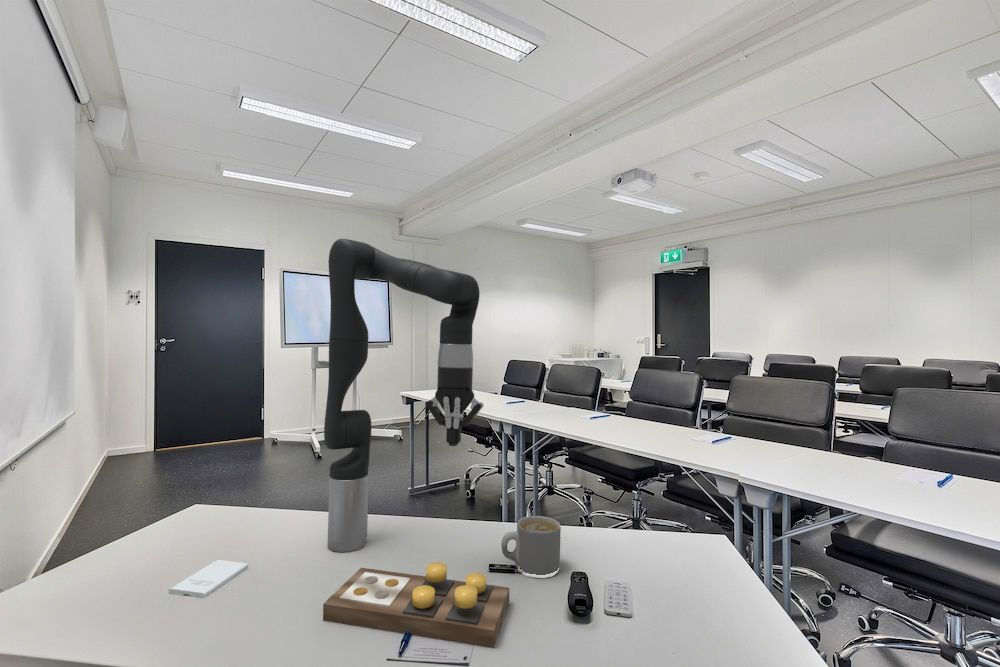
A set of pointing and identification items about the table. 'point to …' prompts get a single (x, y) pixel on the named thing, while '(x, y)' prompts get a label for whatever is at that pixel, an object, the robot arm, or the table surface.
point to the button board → (390, 608)
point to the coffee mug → (535, 545)
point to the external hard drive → (209, 578)
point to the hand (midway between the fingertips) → (453, 445)
